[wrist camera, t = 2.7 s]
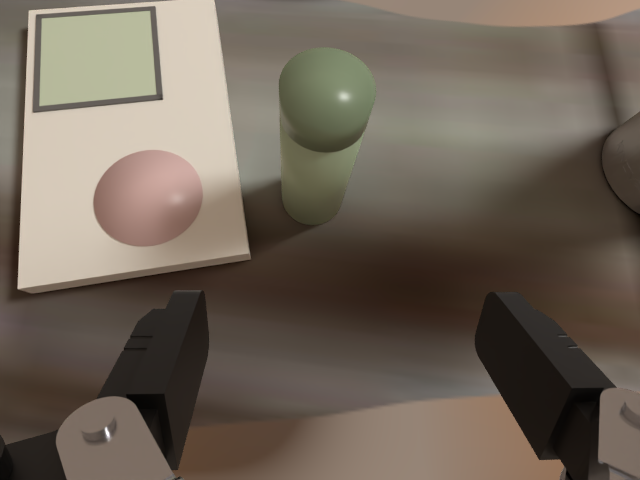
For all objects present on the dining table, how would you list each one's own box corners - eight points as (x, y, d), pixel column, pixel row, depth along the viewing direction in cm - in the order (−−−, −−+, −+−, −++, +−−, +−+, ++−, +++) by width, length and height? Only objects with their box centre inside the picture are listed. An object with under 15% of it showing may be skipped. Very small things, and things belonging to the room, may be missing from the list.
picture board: (216, 13, 34) (213, -4, 32) (250, 259, 27) (248, 252, 26) (40, 26, 32) (27, 8, 31) (32, 293, 26) (16, 288, 24)
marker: (335, 166, 30) (364, 43, 19) (347, 220, 29) (386, 122, 18) (277, 174, 30) (272, 51, 18) (287, 229, 28) (287, 134, 17)
